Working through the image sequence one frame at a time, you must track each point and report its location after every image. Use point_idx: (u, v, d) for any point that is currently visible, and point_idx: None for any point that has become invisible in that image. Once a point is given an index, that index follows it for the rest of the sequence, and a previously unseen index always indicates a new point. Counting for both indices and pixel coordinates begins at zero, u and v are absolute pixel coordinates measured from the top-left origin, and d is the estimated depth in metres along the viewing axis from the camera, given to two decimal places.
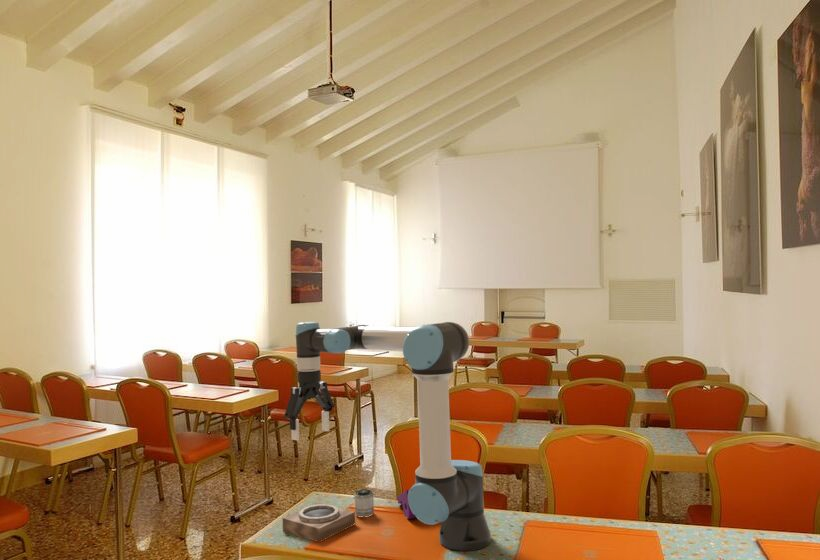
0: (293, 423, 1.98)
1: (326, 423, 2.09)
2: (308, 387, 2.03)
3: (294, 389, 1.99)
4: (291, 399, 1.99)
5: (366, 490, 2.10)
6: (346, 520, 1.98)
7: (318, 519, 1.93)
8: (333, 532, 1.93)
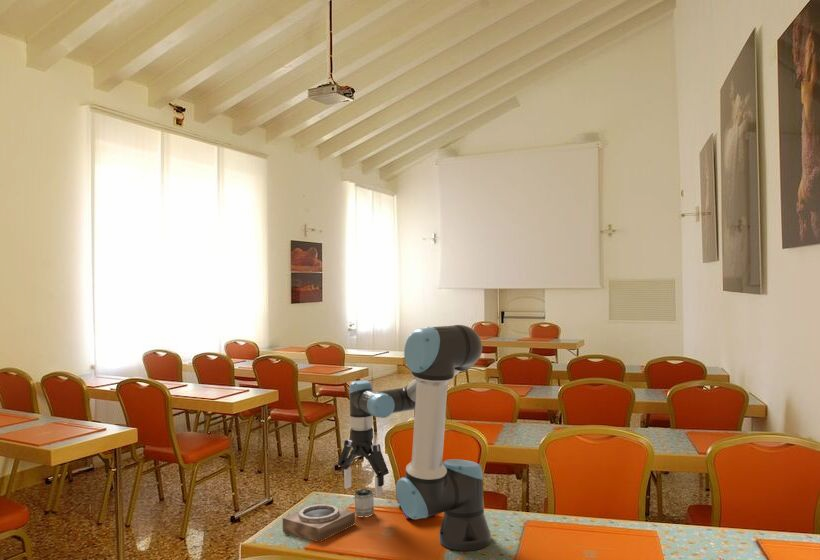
0: (343, 471, 2.13)
1: None
2: (356, 444, 2.09)
3: None
4: None
5: (366, 490, 2.10)
6: (346, 520, 1.98)
7: (318, 519, 1.93)
8: (333, 532, 1.93)
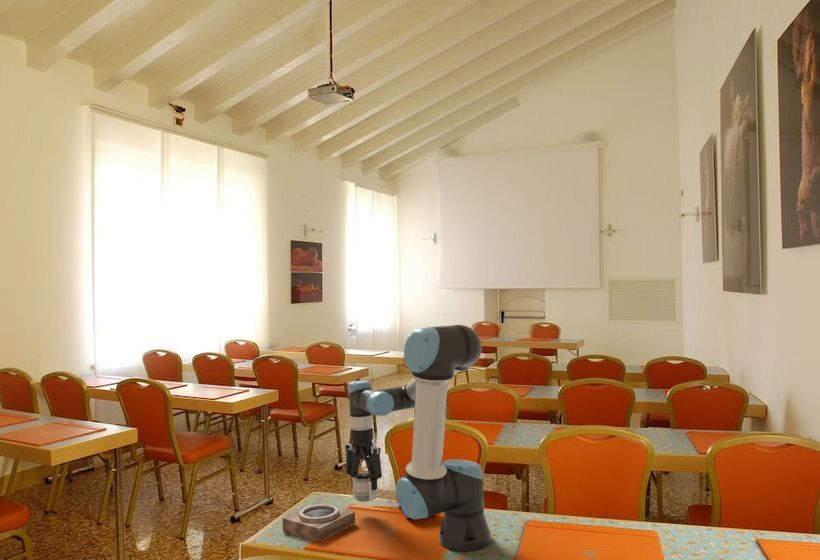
0: (352, 479, 2.11)
1: None
2: (356, 442, 2.09)
3: None
4: None
5: (366, 474, 2.09)
6: (346, 520, 1.98)
7: (318, 519, 1.93)
8: (333, 532, 1.93)
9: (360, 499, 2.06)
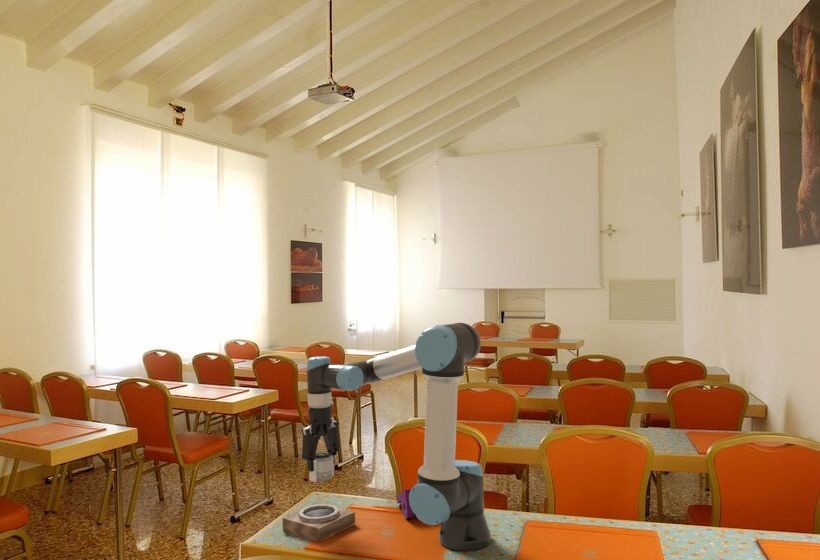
0: (311, 464, 1.96)
1: None
2: (318, 422, 1.98)
3: (304, 431, 1.95)
4: (304, 440, 1.96)
5: (319, 453, 2.01)
6: (346, 520, 1.98)
7: (318, 519, 1.93)
8: (333, 532, 1.93)
9: (329, 477, 1.99)
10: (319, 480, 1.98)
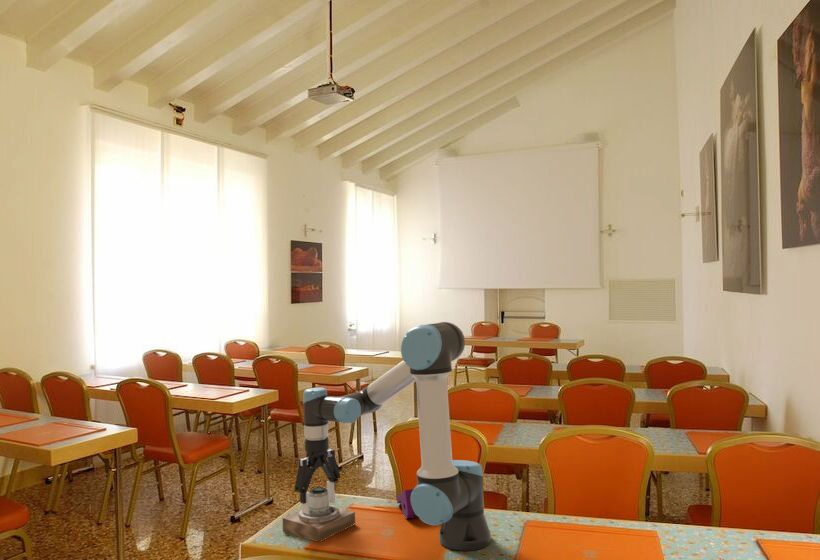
0: (303, 496, 1.93)
1: (331, 494, 2.03)
2: (315, 455, 1.97)
3: (301, 461, 1.94)
4: (299, 471, 1.94)
5: (316, 488, 2.00)
6: (346, 520, 1.98)
7: (318, 519, 1.93)
8: (333, 532, 1.93)
9: (326, 512, 1.98)
10: (317, 515, 1.96)
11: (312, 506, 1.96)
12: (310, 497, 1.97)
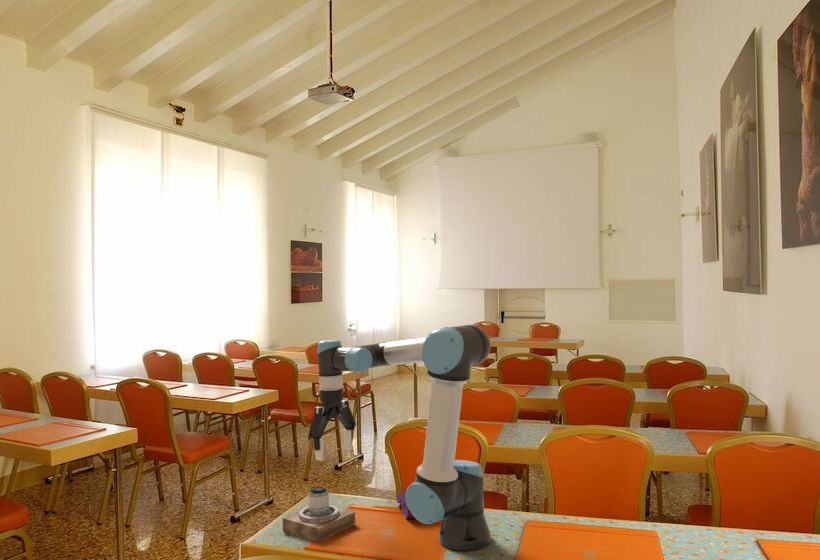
0: (317, 443, 1.95)
1: (348, 442, 2.07)
2: (331, 406, 2.00)
3: (318, 409, 1.96)
4: (314, 419, 1.96)
5: (316, 488, 2.00)
6: (346, 520, 1.98)
7: (318, 519, 1.93)
8: (333, 532, 1.93)
9: (326, 512, 1.98)
10: (317, 515, 1.96)
11: (312, 506, 1.96)
12: (310, 497, 1.97)
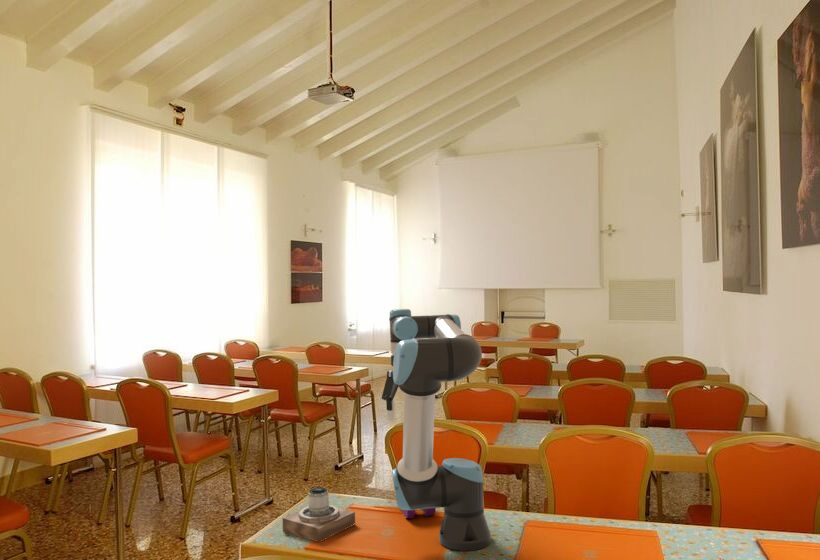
0: (390, 404, 2.09)
1: None
2: None
3: (390, 372, 2.10)
4: (387, 381, 2.10)
5: (316, 488, 2.00)
6: (346, 520, 1.98)
7: (318, 519, 1.93)
8: (333, 532, 1.93)
9: (326, 512, 1.98)
10: (317, 515, 1.96)
11: (312, 506, 1.96)
12: (310, 497, 1.97)
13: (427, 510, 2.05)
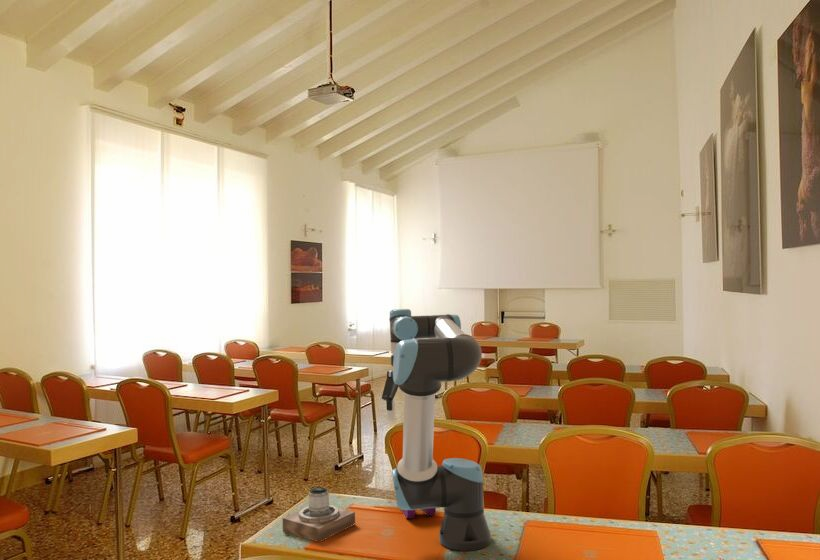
0: (390, 404, 2.09)
1: None
2: None
3: (390, 372, 2.10)
4: (387, 381, 2.10)
5: (316, 488, 2.00)
6: (346, 520, 1.98)
7: (318, 519, 1.93)
8: (333, 532, 1.93)
9: (326, 512, 1.98)
10: (317, 515, 1.96)
11: (312, 506, 1.96)
12: (310, 497, 1.97)
13: (427, 510, 2.05)
